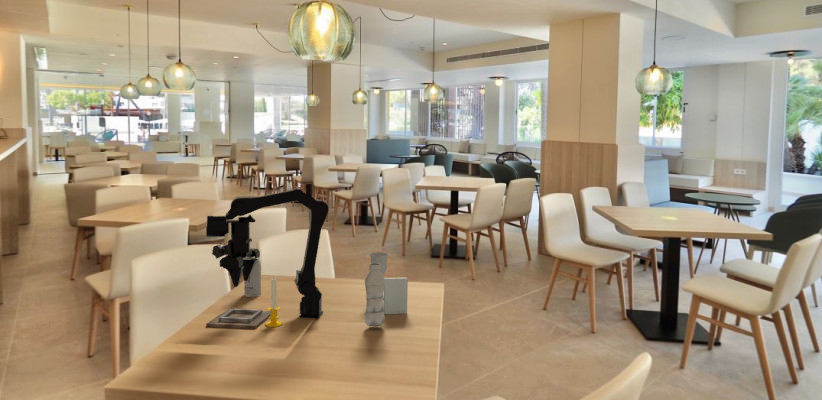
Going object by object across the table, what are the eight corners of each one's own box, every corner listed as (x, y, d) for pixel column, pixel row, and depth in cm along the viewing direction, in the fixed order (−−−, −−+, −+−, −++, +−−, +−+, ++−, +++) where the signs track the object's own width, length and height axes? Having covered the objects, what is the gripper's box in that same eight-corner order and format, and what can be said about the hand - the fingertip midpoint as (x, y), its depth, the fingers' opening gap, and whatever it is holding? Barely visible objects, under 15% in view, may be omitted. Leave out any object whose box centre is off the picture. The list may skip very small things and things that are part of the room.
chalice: (391, 301, 204) (392, 253, 202) (381, 305, 198) (381, 256, 196) (375, 298, 207) (376, 251, 206) (365, 302, 202) (365, 254, 200)
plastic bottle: (388, 324, 176) (388, 263, 174) (378, 330, 169) (378, 267, 168) (370, 321, 178) (371, 261, 177) (360, 327, 172) (360, 265, 171)
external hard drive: (407, 313, 188) (407, 278, 187) (383, 314, 187) (384, 278, 186) (406, 312, 189) (407, 277, 188) (383, 313, 188) (383, 277, 187)
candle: (281, 326, 171) (281, 278, 170) (264, 327, 170) (264, 278, 169) (282, 321, 176) (282, 274, 175) (266, 322, 176) (266, 275, 174)
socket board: (273, 314, 185) (273, 307, 185) (255, 328, 169) (255, 322, 169) (227, 312, 186) (227, 306, 186) (206, 326, 170) (206, 319, 170)
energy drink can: (241, 297, 205) (240, 258, 204) (254, 294, 210) (253, 256, 209) (251, 300, 202) (251, 260, 201) (264, 297, 207) (264, 258, 205)
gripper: (228, 231, 185) (229, 276, 186) (202, 239, 167) (203, 289, 168) (260, 232, 184) (260, 277, 185) (237, 240, 166) (238, 291, 167)
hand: (240, 283), depth 176 cm, fingers open, 8 cm apart
